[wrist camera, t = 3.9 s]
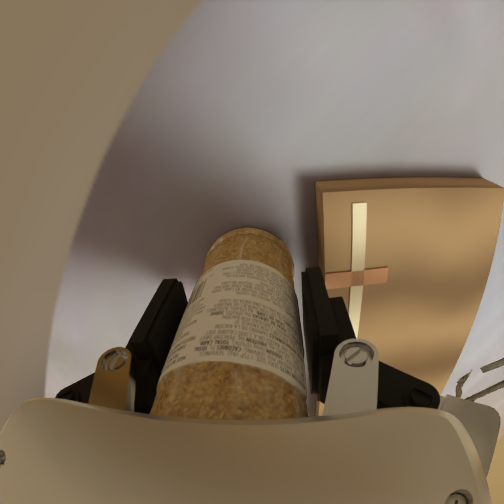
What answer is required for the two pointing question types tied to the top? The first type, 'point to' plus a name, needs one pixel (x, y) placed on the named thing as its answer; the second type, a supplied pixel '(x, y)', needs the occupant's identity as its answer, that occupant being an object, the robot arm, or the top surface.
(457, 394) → the hacksaw
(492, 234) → the board
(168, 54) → the top surface
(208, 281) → the sprinkles bottle
